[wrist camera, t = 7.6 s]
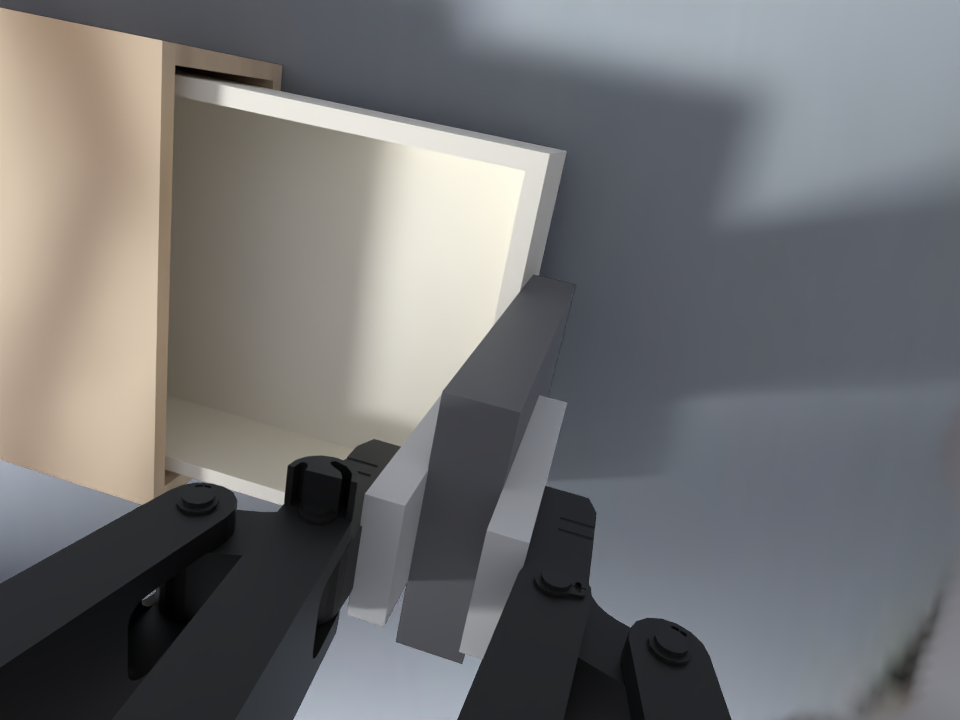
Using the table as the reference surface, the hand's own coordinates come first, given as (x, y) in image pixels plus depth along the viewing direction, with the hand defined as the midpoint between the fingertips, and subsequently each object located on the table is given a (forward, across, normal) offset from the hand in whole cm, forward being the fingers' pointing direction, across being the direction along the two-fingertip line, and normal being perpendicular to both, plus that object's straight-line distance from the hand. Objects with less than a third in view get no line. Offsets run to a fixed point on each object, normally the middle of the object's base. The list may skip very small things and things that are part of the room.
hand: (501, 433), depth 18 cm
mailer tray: (+9, +10, 0) cm, 13 cm away
